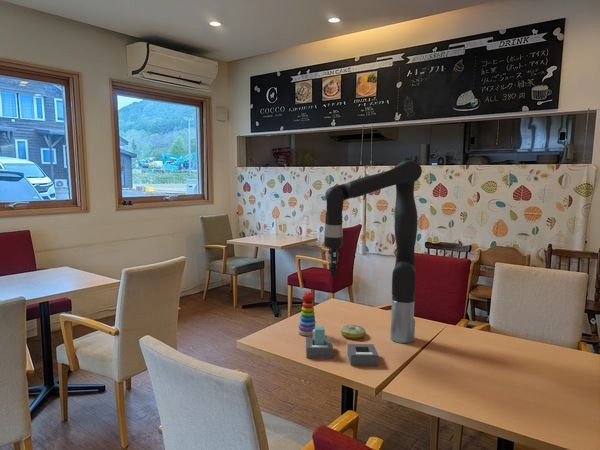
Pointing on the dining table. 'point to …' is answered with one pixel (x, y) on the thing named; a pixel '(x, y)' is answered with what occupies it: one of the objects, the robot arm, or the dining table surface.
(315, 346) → the far socket block
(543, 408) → the dining table surface
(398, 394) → the dining table surface
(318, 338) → the plug
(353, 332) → the decorated donut
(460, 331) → the dining table surface
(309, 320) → the stacking toy
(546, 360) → the dining table surface
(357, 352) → the near socket block
